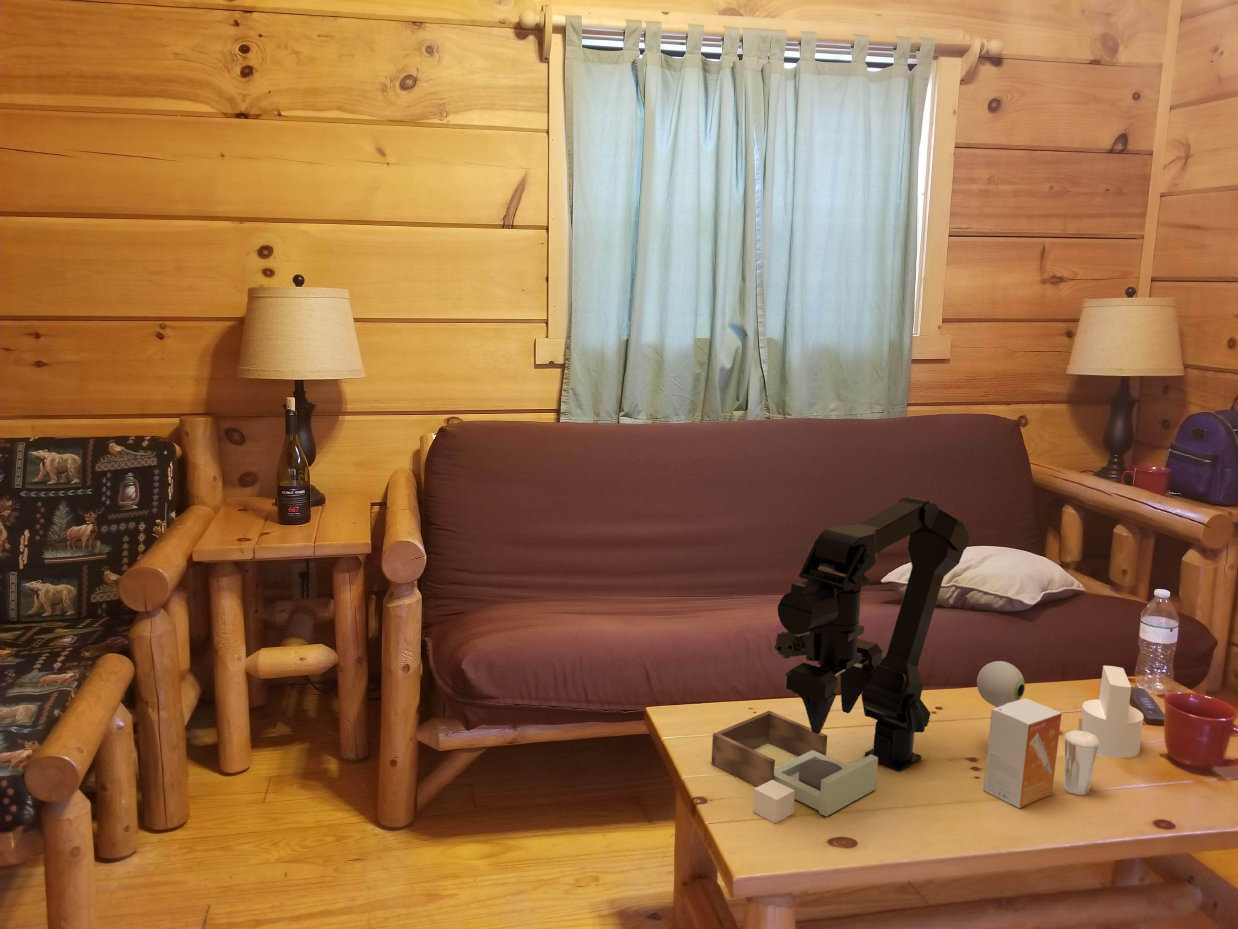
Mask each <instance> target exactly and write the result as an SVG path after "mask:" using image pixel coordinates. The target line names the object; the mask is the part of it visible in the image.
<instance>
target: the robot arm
mask: <svg viewBox="0 0 1238 929" xmlns="http://www.w3.org/2000/svg"><path fill="white" fill-rule="evenodd" d="M906 537H908V540H907V546H906V547H907V548H906V550H907V553H908V556H909V559H910V560H909V561H910V564H911V570H910V573H909V577H908V579H907V583H906V587H905V590H904V594H903V596H902V599H901V604H900V606H899V610H898V613H897V617H896V621H895V623H894V627H893V631H892V634H891V637H890V639H889V643H888V644H889V645H888V648H887V651H886V653H885V656H884V657H883V649H881V647H880V646H879V644H878V643H876V642H873V641H868V640H865V639H861V638H859V636H861V635H862V634H864V632H865V625H861V624H860V614H861V600H862V599H861V598H862V587H865V586H869V585H870V583H871V580H870V579H869V577H867V576H866V575H865V574H866V573H867V572H868V571H869V570H871V568H873V567H874V566H875V565H876V564H877V558H878V554H880V553H881V552H882V551H884V550H885V549H887V548H889V547H891V546H893V545H894V544H896V543H898V542H899V541H901V540H903V539H904V538H906ZM969 541H970V534H969V531H968V530H967V528H966V527H965V524H964V523H963V522H962V521H961V520H958V519H957V518H955V517H954V516H952V515H951V514H949V513H947V512H945V511H944V510H941V509H940V507H938V505H937V504H936V503H934V502H933V501H932V500H929V499H925V498H924V499H923V498H919V497H914V496H905V497H901V498H900V499H899V500H898V502H897V503H895V504H893V505H892V506H889V507H888V508H886V509H885V510H882V511H880V512H879V513H876V514H875V515H873V516H872V517H869V518H867V519H866V520H864V521H862V522H859V523H858V524H853V525H852V524H851V525H849V524H848V525H845V524H844V525H836V526H833V527H829V528H826V529H824V530H823V531H821V532H820V533H819V535H818V536H817V538H816V539H815V541H814V543H813V546H812V547H811V549H810V552H809V554H808V555H807V558H806V560H805V561H804V563H803V566H802V568H801V570H800V573H799V574H798V577H799V579H803V580H805V581H802V582H801V581H798V582H793V583H791V585H790V592H788V593H787V592H786V593H785V594H784V595H783V596H782V597H781V599H780V601H779V603H778V604H777V615H778V618H779V621H780V624H781V625H782V626H783V628H784V629H785V630H786V631H785V630H784V631H781V632H779V633H777V636H776V639H775V645H774V649H775V650H776V652H777V654H779V655H780V656H782V658H783V659H790V658H791V657H801V656H805V660H806V661H810V662H817V664H818V665H819V666H816V665H814V664H813V665H812V664H810V663H808V662H807V663H806V662H802V663H800V664H798V665H796V666H795V667H793V668H791V669H790V670H789V671H787V672H786V673H785V675H784V676H785V678H784V688H785V689H786V690H790V691H791V692H792V693H794V694H797V695H798V696H799V697H800V699H801V700H802V702H803V703H802V704H803V705H804V709H805V711H806V715H807V718H808V721H809V727H810V728H811V730H812V732H813V733H816V734H819V733H820V732H821V733H822V730H823V728H824V726H825V723H826V721H827V718H828V716H829V714H830V711H831V709H832V706H833V704H834V701H835V699H836V696H837V692H835V691H836V690H837V686H838V678H837V676H840V677H839V678H840V703H841V711H842V712H843V713H845V714H850V713H851V712H852V710H853V708H854V707H855V705H856V703H857V701H858V699H859V698H860V696H861V701H862V702H861V703H862V707H863V713H864V716H865V717H867V718H871V719H873V720H876V722H875V727H874V737H873V745H872V746H873V747H872V748H871V749H869V750H867V751H865V752H864V758H865V757H867V756H869V755H874V756H876V757H878V763H879V764H882V765H883V766H884V765H885V766H886V767H889V768H890V769H893V770H895V771H898V772H899V771H903V770H905V769H907V768H908V767H910V766H912V765H914V764H915V763H917V762H919V761H920V760H922V755H921V754H918V753H916V752H914V743H915V742H914V741H915V733H924V732H925V729H926V728H927V727H928V725H929V722H930V717H931V712H930V710H929V709H928V708H927V706H926V705H925V704H924V702H923V701H922V699H921V697H922V692H923V688H924V687H923V686H924V685H923V681H922V678H921V674H920V670H919V667H918V666H919V663H920V658H921V655H922V651H923V650H924V649H923V648H924V646H925V642H926V638H927V635H928V631H929V628H930V625H931V623H932V622H931V621H932V618H933V615H934V610H935V608H936V604H937V601H938V598H939V593H940V590H941V587H942V585H943V584H942V583H943V581H944V577H946V575H948V574H949V573H950V572H951V571H952V570H953V569H955V568H956V567H957V566H958V565H959V564H960V562H961V559H962V556H963V555H964V551H965V550H966V549H967V547H968V544H969ZM819 568H821V569H819ZM822 569H824V570H822ZM826 570H829V571H831V572H829V571H826ZM832 572H835V573H832ZM836 573H838V574H836Z"/></svg>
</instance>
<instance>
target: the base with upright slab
mask: <svg viewBox="0 0 1238 929" xmlns="http://www.w3.org/2000/svg"><path fill="white" fill-rule="evenodd" d="M1131 692H1132V685H1131V683H1130V681H1129V679H1128V675H1127V674H1126V671H1125V669H1124V668H1123V667H1119V666H1114V665H1103V666H1102V674H1101V680H1100V690H1099V697H1098V699H1090V700H1086V701H1083V703H1082V707H1081V715H1080V716H1081V717H1080V719H1083V722H1082V731H1084V732H1089V733H1091V734H1094V735H1095V736H1096V737H1097V738H1098V741H1099V745H1098V749H1097V754H1098V755H1101V756H1106V757H1110V758H1114V759H1115V758H1117V759H1128V758H1130V759H1131V758H1134V757H1137V756H1138V755H1139V753H1140V750H1141V748H1140V747H1141V741H1142V732H1143V724H1144V714H1143V713H1142V712H1141V711H1140V710H1139V709H1137V708H1135V707H1133V706H1131V705H1130V700H1131Z"/></svg>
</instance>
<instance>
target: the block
mask: <svg viewBox="0 0 1238 929" xmlns="http://www.w3.org/2000/svg"><path fill="white" fill-rule="evenodd" d="M794 797H795V790H793V789H791V788H789V787H787V786H784V785H782V784H780V783H778V782H776V781H774V780H771V781H769V782H767V783H765V784H763V785H760V786H758V787H756V786H755V787H754V788H753V800H752V801H753V805H752V813H755V814H756V815H758V816H760V817H762V818H764V819H766V820H768V821H770V822H772V823H774V824H777V823H779V822H781V821H782V820H784V819H786V818H789V817H790V816H792V815H793V814H794V812H795V811H794V808H795V799H794Z"/></svg>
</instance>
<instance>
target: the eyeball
mask: <svg viewBox="0 0 1238 929" xmlns="http://www.w3.org/2000/svg"><path fill="white" fill-rule="evenodd" d="M976 687H977V690H978V693H979V694H980V696H981V698H982V699H983V700H984V701H986V702H987V703H988V704H989V705H992V706H994V707H995V708H997V707H1000V706H1002V705H1005V704H1007V703H1010V702H1014V701H1017V700H1021V699H1022V698H1023V695H1024V692H1025V688H1026V685H1025V678H1024V676H1023V674H1022V672H1021V671H1020V670H1019V668H1017V667H1016V666H1014V665H1013V664H1011V663H1009V662H1008V661H1004V660H1003V661H1001V660H999V661H998V660H997V661H992V662H989V663H986V665H984V666H983V667H982V668H981V669H980V671H979V672H978V674H977V677H976Z"/></svg>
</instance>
